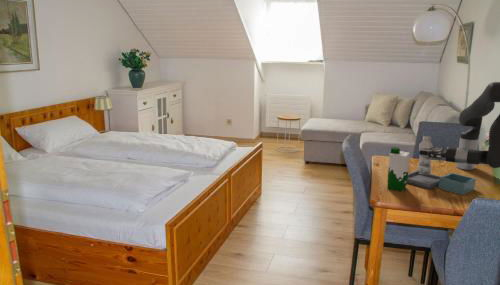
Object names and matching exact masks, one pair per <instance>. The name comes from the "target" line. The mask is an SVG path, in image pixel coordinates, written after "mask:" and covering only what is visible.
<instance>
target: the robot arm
mask: <svg viewBox="0 0 500 285" xmlns="http://www.w3.org/2000/svg"><path fill="white" fill-rule="evenodd" d="M495 103H500V81H492V82H490V83H488V84H487V86H486V87H485V88H484V90H483V92H481V94H480V95H479V96H478V97H477V98H476V99H475V100H474V101H473V102H472V103H471V104H469V106H467V107H466V108H463V110H461V112H460V113H459V116H458V122H459V124H460V125H461V126H463V127H471V128H469V129H468V130H464V131H461V132H460V135H459V136H460V137H459V142H458V143H459V144H458V147H456V146H447V147H446V149H445V147H438V146H437V147H434V146H433V150H432V151H423V150H420V152H418V154H419V156H420V155H426V156H428V157H430V158H431V159H438V160H441V159H442V158H445V161H446V162H447V163H455V164H456V168H458V169H461V170H467V171H472V170H475V168H476V165H488V166H489V167H491V168H493V169H498V168H500V113H499V114H498V115H497V117H496V118H495V119H494V120H493V121H492V123H491V125H490V127H489V131H488V132H489V133H488V150H479V149H478V147H479V146H478V145H479V138H480V133H481V127H482V123H483V118H484V117H486V116H487V115H489V114H491V112H493V111H494V109H495V106H496V105H495Z"/></svg>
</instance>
